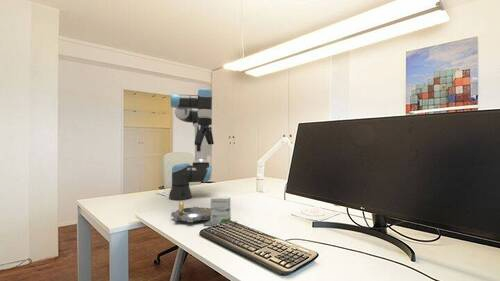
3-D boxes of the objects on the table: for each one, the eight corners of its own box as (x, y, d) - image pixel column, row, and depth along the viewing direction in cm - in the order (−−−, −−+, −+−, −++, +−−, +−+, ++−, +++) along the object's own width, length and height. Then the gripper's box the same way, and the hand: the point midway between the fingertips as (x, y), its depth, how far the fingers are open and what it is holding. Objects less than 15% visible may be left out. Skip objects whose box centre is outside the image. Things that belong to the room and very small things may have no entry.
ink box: (230, 221, 122) (231, 196, 122) (228, 224, 117) (228, 198, 117) (213, 220, 123) (213, 196, 123) (210, 223, 118) (210, 198, 118)
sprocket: (162, 216, 126) (162, 200, 126) (196, 208, 142) (196, 193, 142) (188, 225, 113) (188, 207, 113) (223, 215, 129) (223, 199, 129)
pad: (211, 220, 126) (211, 218, 126) (236, 222, 123) (236, 220, 123) (203, 226, 117) (203, 224, 117) (230, 228, 114) (230, 226, 114)
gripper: (207, 119, 151) (207, 155, 151) (187, 115, 127) (187, 158, 127) (219, 119, 149) (219, 155, 150) (201, 115, 125) (201, 158, 125)
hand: (204, 156), depth 138 cm, fingers open, 13 cm apart
